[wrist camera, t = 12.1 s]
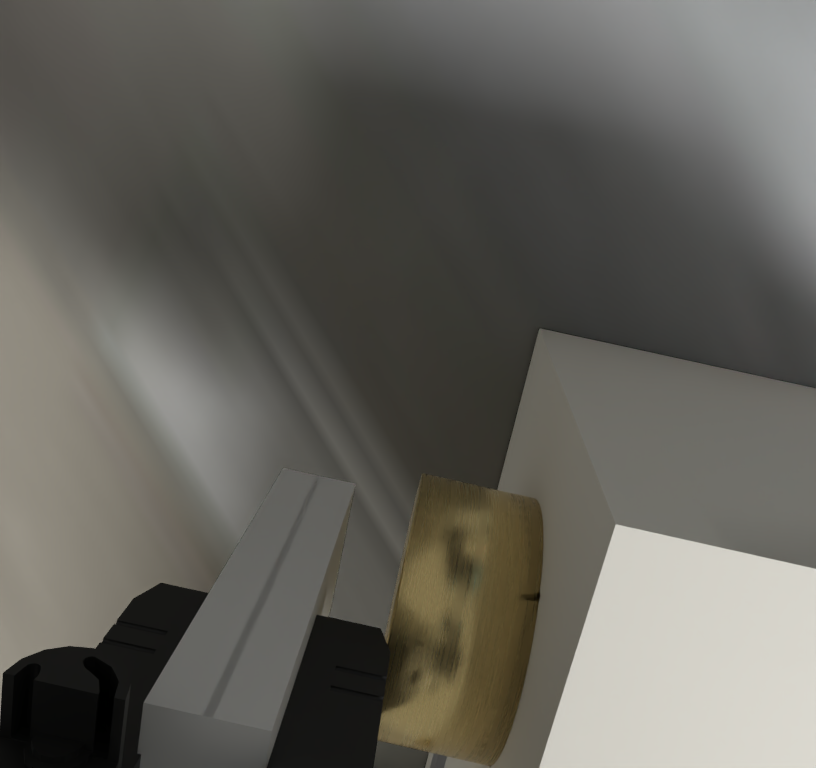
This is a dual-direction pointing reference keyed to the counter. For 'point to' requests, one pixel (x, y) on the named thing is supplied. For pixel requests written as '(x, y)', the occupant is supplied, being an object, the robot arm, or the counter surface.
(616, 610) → the console
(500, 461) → the counter surface
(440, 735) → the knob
